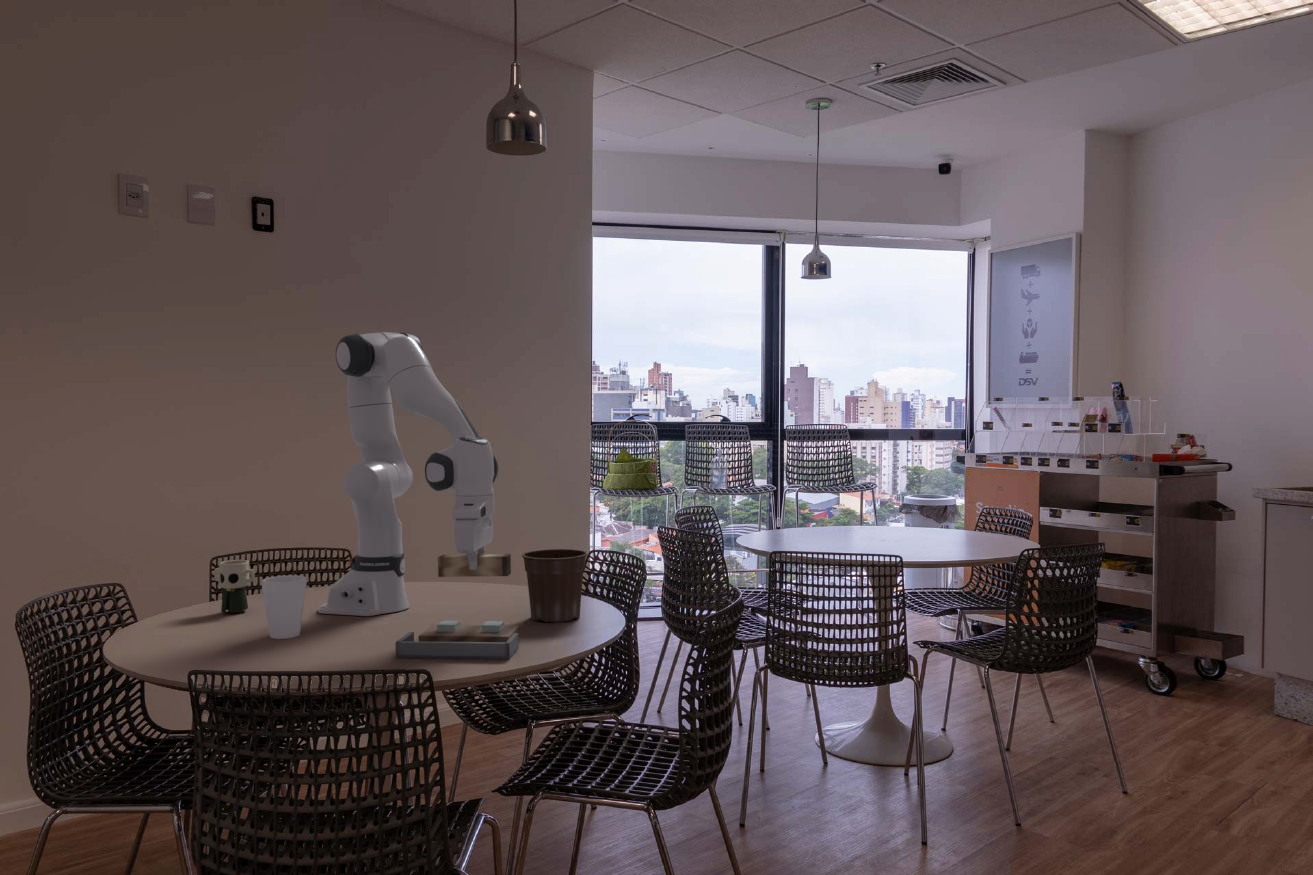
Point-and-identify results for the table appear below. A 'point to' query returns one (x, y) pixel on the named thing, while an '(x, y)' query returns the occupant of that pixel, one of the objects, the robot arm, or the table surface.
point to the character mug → (234, 584)
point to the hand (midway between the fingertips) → (476, 567)
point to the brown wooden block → (486, 567)
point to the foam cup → (284, 605)
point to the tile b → (492, 626)
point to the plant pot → (555, 583)
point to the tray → (455, 649)
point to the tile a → (448, 626)
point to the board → (468, 634)
